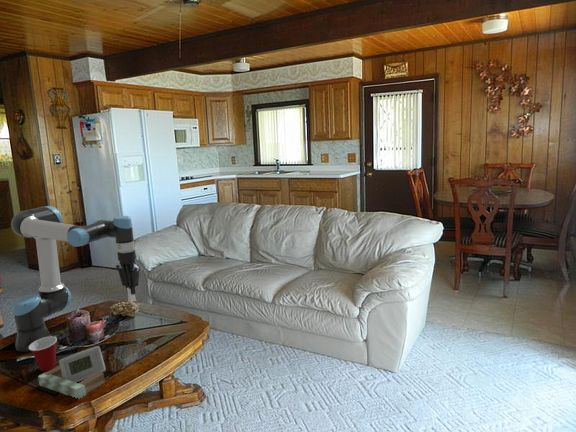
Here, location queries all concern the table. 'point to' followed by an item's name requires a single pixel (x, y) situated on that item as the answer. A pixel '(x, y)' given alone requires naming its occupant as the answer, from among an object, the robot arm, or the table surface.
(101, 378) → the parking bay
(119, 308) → the mineral formation
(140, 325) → the table surface
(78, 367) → the digital clock
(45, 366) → the plastic cup
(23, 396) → the table surface
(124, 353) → the table surface
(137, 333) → the table surface
